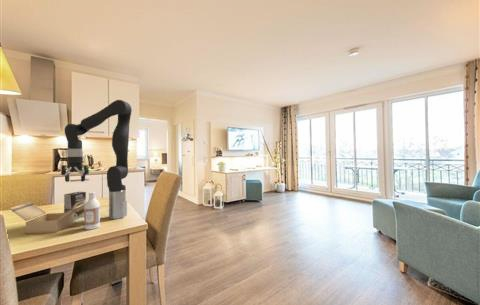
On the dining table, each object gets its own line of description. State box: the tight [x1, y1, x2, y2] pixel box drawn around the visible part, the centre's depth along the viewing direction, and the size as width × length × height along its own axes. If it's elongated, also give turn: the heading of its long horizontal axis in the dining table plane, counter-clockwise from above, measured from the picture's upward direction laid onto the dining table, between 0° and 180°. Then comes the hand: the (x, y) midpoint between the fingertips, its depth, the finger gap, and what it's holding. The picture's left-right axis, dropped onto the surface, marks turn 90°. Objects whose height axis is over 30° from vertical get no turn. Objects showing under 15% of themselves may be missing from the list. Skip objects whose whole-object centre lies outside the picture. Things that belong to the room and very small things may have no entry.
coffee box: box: [63, 191, 87, 221], centre depth 126 cm, size 9×6×16 cm
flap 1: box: [9, 201, 47, 222], centre depth 109 cm, size 1×12×10 cm
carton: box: [25, 212, 75, 235], centre depth 111 cm, size 14×14×6 cm
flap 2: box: [59, 203, 86, 219], centre depth 112 cm, size 1×12×10 cm
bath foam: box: [83, 191, 101, 231], centre depth 111 cm, size 7×7×20 cm
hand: (75, 181), depth 126 cm, fingers open, 8 cm apart
